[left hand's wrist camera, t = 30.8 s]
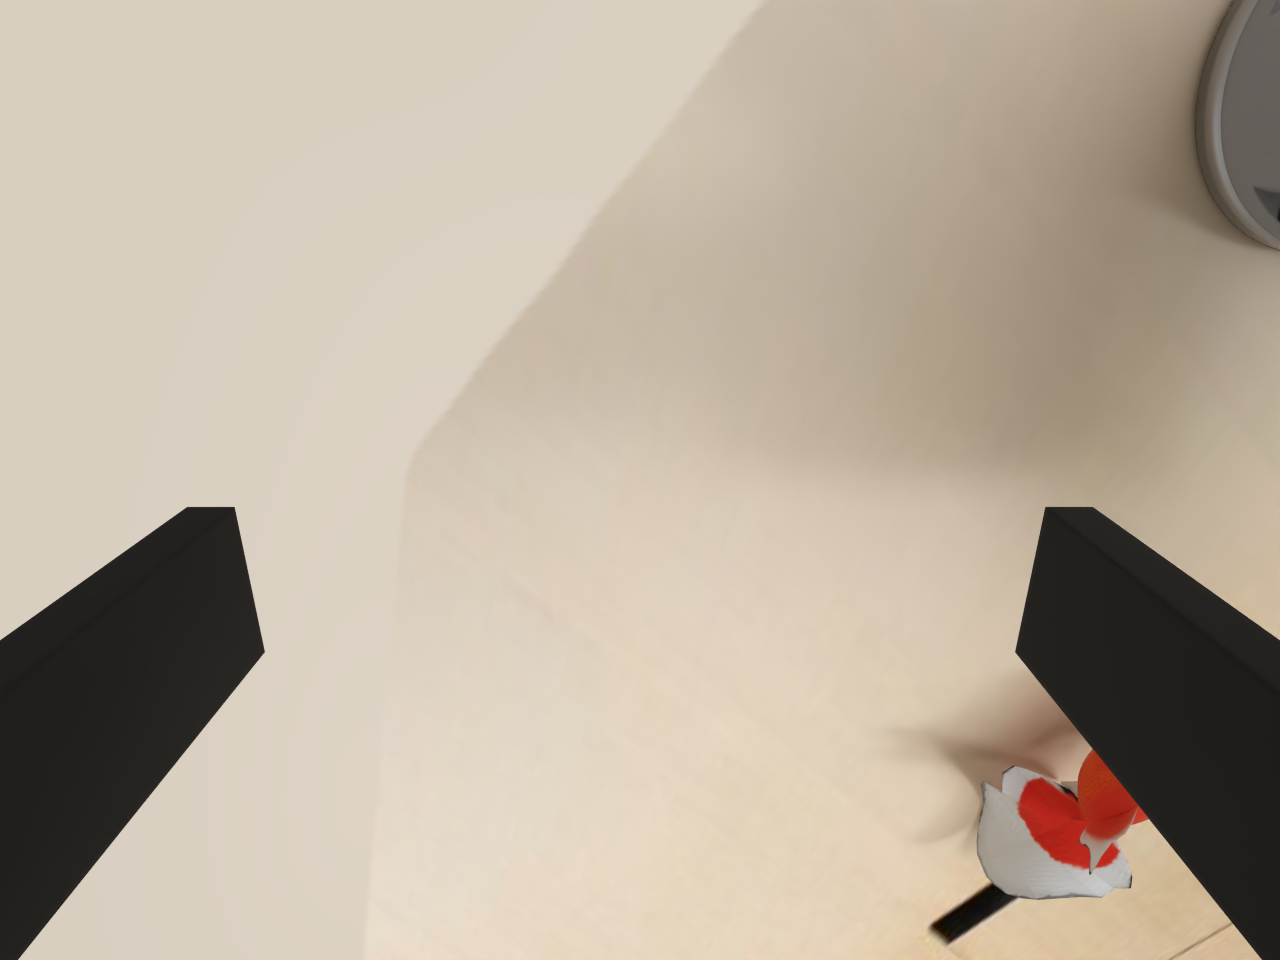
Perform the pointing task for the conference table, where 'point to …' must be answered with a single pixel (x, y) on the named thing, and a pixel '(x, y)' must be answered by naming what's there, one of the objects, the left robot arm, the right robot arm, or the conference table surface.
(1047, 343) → the conference table surface
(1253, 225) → the left robot arm
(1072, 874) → the fish
